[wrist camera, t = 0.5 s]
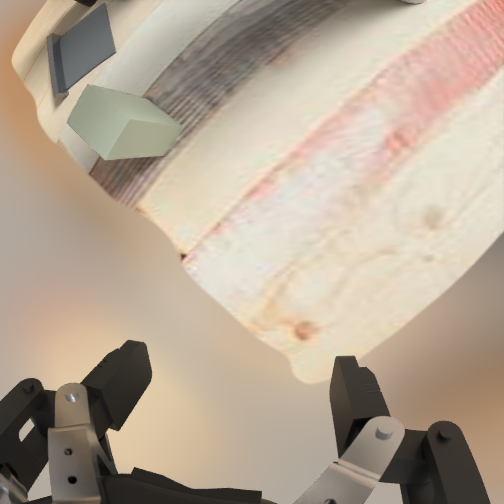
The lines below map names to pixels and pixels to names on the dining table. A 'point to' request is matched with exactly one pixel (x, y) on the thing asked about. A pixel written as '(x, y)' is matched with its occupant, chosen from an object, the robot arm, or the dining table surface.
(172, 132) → the carton
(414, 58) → the dining table surface
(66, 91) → the rail
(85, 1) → the stool
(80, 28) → the shelf mat
